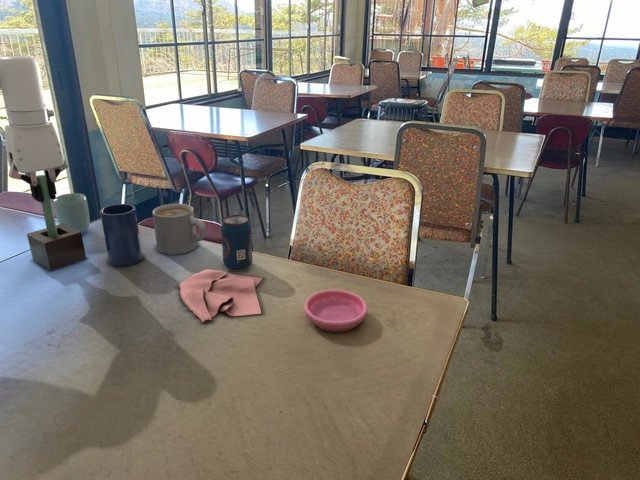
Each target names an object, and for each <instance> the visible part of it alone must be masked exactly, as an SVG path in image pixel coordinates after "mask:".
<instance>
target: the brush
mask: <svg viewBox="0 0 640 480" xmlns="http://www.w3.org/2000/svg"><path fill="white" fill-rule="evenodd" d="M36 177H37V182H38V185H40V186H41V188H42V193H43V198H44V202H42V203H40V204H41V208H42V213H43V218H44V223H45V227H46V228H47V233H48V237H47V238H52V237H56V236H59V235H58V233H57V228H56V225H57V223H56V220H55V215H54V209H53V204H52V199H50V194H49V189H48V184H47V179H46V176H45V175H44V174H37V175H36Z"/></svg>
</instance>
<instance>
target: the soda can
mask: <svg viewBox="0 0 640 480" xmlns="http://www.w3.org/2000/svg"><path fill="white" fill-rule="evenodd" d="M220 234H221V235H220V237H221V249H222V250H221V251H222V252H221V253H222V263H223V265H224V266H225V268H226V269H227V270H229V271H233V272H243V271H246V270H248V269H249V268H250V266H251V265H252V263H253V239H252V238H253V235H252V223H251V222H250V221H249V217H248V216H246V215H242V214H231V215H228V216H225V217H224V218H223V219H222V223H221V225H220Z"/></svg>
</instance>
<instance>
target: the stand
mask: <svg viewBox="0 0 640 480" xmlns="http://www.w3.org/2000/svg"><path fill="white" fill-rule="evenodd" d="M56 228H57V233H58V235H59V236H56V237H52V238H47V237H48V233H47V228H42V229H39V230H35V231H32V232H28V233H26V236H27V237H26V238H27V240H28V244H29V249H30V254H31V257H32V260H33V262H35V263H37V264H39V265H40V266H42V267H43V268H45V269H47V270H48V271H50V272H52V271H55V270H57V269H60V268H63V267H66V266H68V265H71V264H75V263H78V262H80V261H83V260H86V259H87V254H86V249H85V244H84V239H83V233H81V232H80V231H78V230H76V229H74V228H72V227H70V226H68V225H65V224H56Z"/></svg>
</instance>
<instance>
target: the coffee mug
mask: <svg viewBox="0 0 640 480" xmlns="http://www.w3.org/2000/svg"><path fill="white" fill-rule="evenodd" d="M152 219H153V228H154V235H155V243H156V250H157V251H158V252H159V253H160V254H165V255H183V254H186V253H189V252H192V251H193V250H195V249H196V248H197V246H198V243H200V242H202V241H203V240H205V239H206V236H207V228H206V224H205V222H204V221H203V220H201V219H199V218H196V217H195V210H194V207H193V206H192V205H189V204H186V203H168V204H163V205H159V206H157V207H155V208H154V209H152ZM196 225H197V227H198V228H199V234H198V233H197V231H196Z"/></svg>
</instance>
